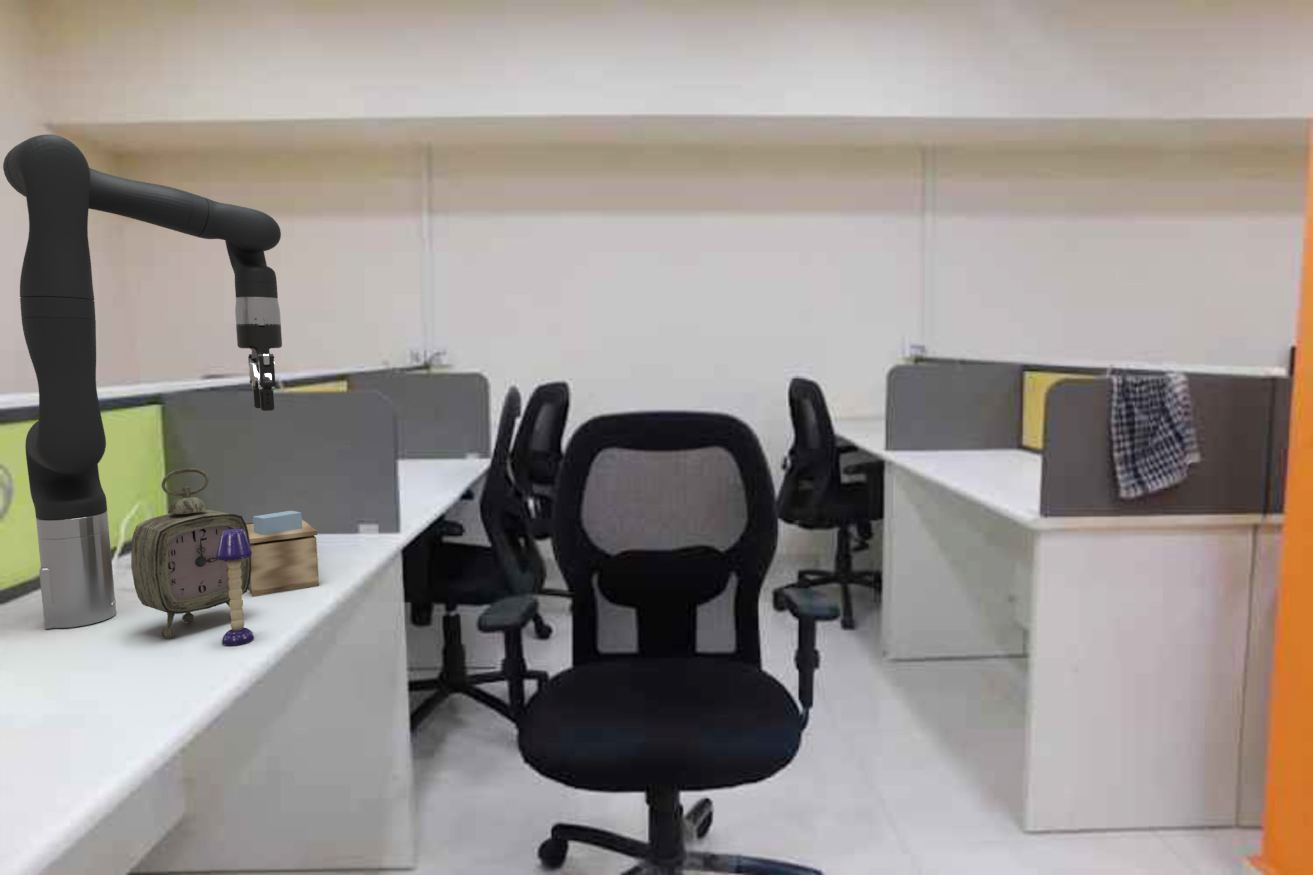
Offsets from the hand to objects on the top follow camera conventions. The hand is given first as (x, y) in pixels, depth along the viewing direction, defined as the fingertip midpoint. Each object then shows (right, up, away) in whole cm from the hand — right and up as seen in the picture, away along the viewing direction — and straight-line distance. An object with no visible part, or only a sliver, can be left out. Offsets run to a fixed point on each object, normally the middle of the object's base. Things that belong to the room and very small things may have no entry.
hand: (264, 409), depth 150 cm
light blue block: (+5, -22, -4) cm, 23 cm away
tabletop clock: (+1, -35, -25) cm, 43 cm away
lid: (+3, -23, -2) cm, 23 cm away
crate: (+3, -32, -1) cm, 32 cm away
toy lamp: (+12, -36, -32) cm, 49 cm away
